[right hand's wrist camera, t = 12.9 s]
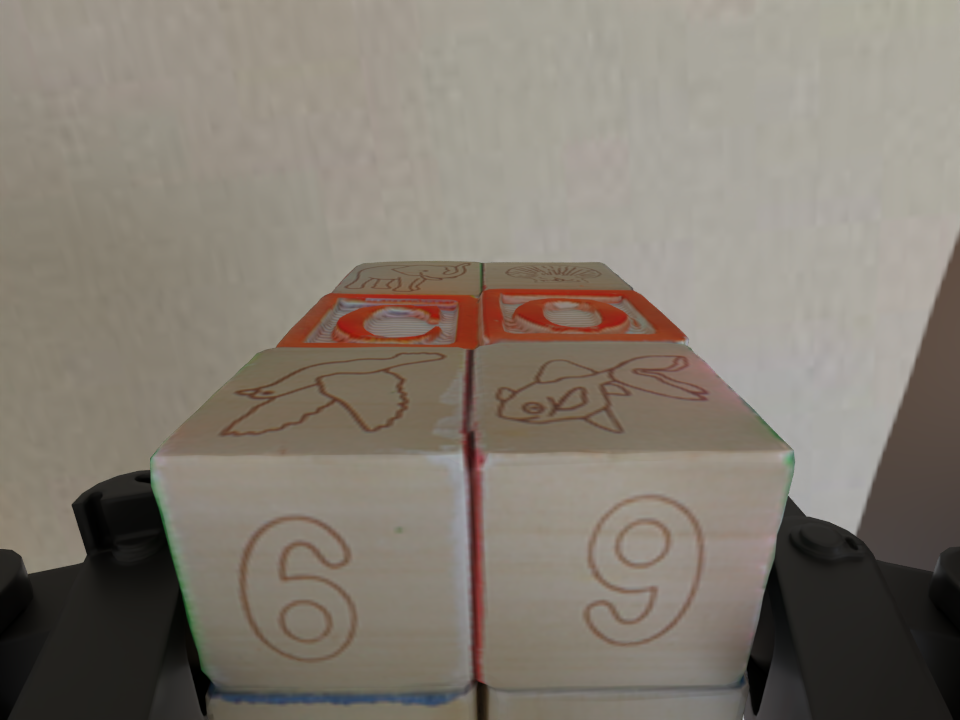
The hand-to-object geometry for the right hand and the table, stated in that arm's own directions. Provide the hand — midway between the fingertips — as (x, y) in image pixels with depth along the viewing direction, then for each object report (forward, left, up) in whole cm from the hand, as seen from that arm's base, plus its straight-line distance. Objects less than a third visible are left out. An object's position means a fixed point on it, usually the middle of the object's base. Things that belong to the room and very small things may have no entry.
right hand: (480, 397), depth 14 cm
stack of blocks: (+7, +1, -1) cm, 7 cm away
